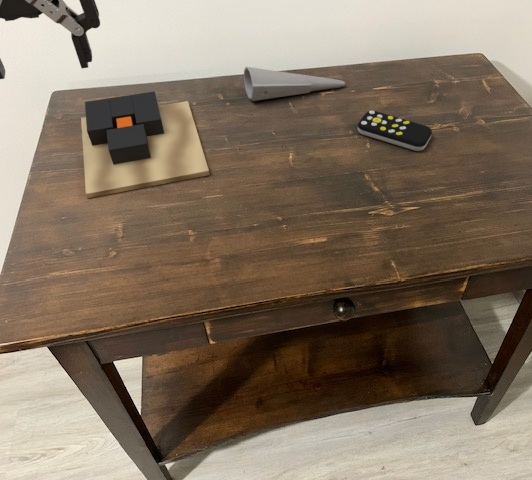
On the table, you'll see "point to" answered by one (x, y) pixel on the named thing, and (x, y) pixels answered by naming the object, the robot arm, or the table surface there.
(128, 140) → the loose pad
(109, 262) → the table surface
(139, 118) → the dark grey u-shaped block
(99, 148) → the board
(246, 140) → the table surface
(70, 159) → the table surface
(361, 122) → the remote control
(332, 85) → the long tapered cone
